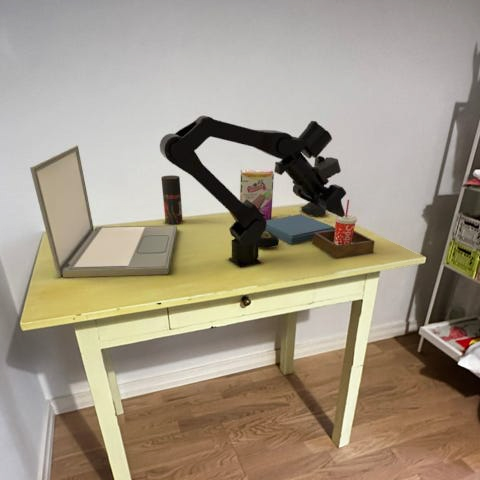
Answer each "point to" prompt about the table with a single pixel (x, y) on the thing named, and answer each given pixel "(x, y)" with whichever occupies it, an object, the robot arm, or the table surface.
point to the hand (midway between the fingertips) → (334, 211)
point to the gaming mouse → (313, 210)
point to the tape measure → (268, 240)
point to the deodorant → (172, 199)
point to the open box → (357, 246)
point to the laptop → (82, 232)
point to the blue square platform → (296, 228)
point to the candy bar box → (258, 189)
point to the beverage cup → (344, 228)
